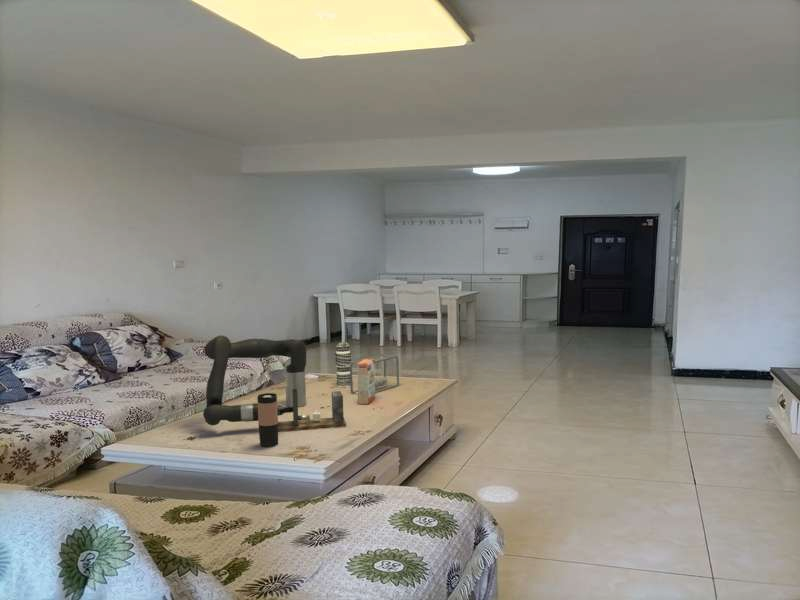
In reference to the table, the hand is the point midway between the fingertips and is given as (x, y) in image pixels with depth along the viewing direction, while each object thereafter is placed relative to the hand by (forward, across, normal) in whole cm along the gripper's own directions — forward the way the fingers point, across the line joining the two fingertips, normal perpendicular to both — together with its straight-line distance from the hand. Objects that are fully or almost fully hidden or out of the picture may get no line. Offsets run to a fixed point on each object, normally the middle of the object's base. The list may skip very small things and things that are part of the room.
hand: (292, 409), depth 265 cm
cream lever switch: (+10, +2, +5) cm, 12 cm away
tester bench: (+6, 0, +8) cm, 10 cm away
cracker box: (+38, +37, +8) cm, 54 cm away
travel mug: (-10, -22, +8) cm, 26 cm away
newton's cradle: (+47, +61, +8) cm, 77 cm away
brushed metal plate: (+4, 0, +6) cm, 7 cm away
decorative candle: (+31, +77, +8) cm, 83 cm away
